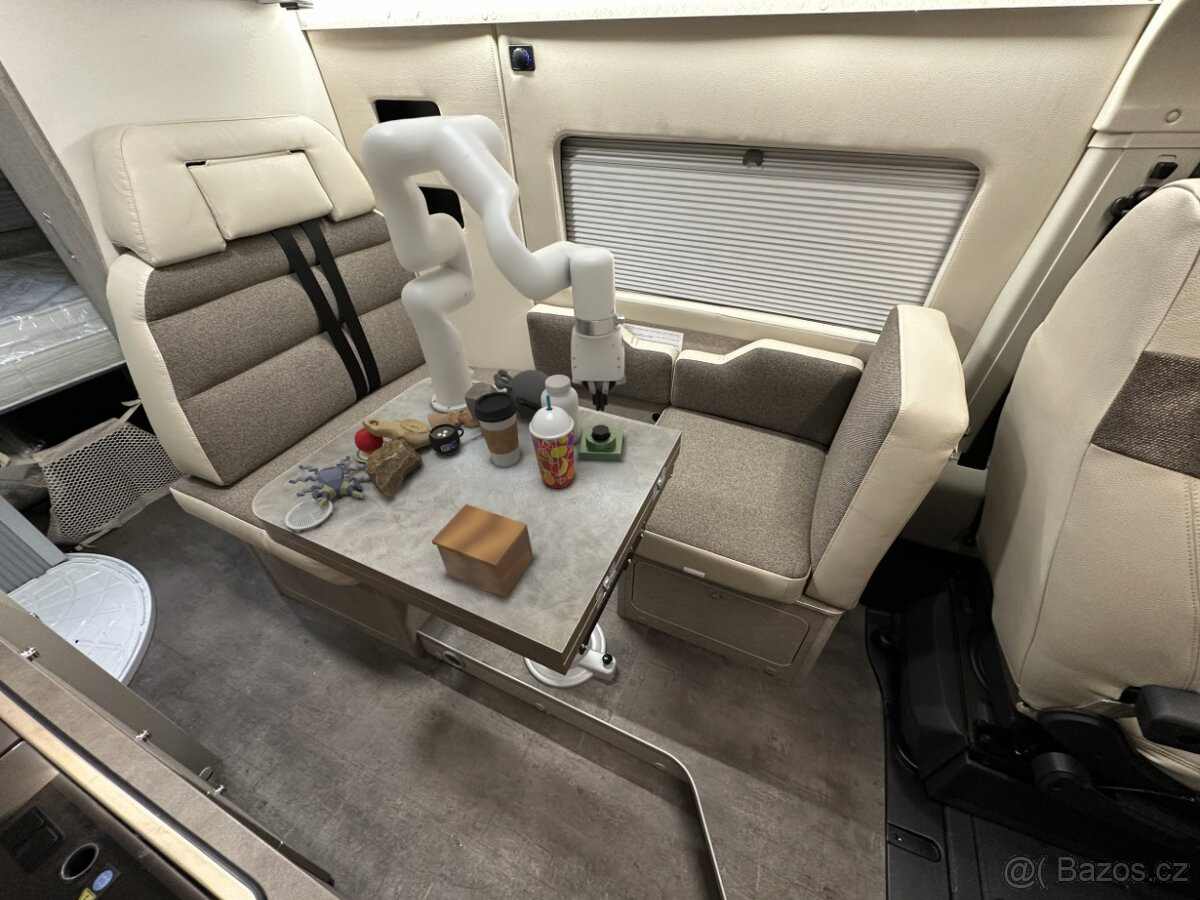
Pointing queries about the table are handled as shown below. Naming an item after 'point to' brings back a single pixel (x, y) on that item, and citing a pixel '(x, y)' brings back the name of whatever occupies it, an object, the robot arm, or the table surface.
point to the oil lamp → (400, 430)
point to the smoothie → (553, 444)
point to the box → (491, 568)
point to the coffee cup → (499, 426)
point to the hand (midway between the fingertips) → (600, 407)
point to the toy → (332, 482)
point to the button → (600, 432)
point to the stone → (477, 396)
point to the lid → (480, 535)
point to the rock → (391, 465)
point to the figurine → (452, 419)
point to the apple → (367, 444)
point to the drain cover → (321, 512)
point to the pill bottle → (563, 399)
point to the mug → (446, 438)
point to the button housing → (601, 446)
